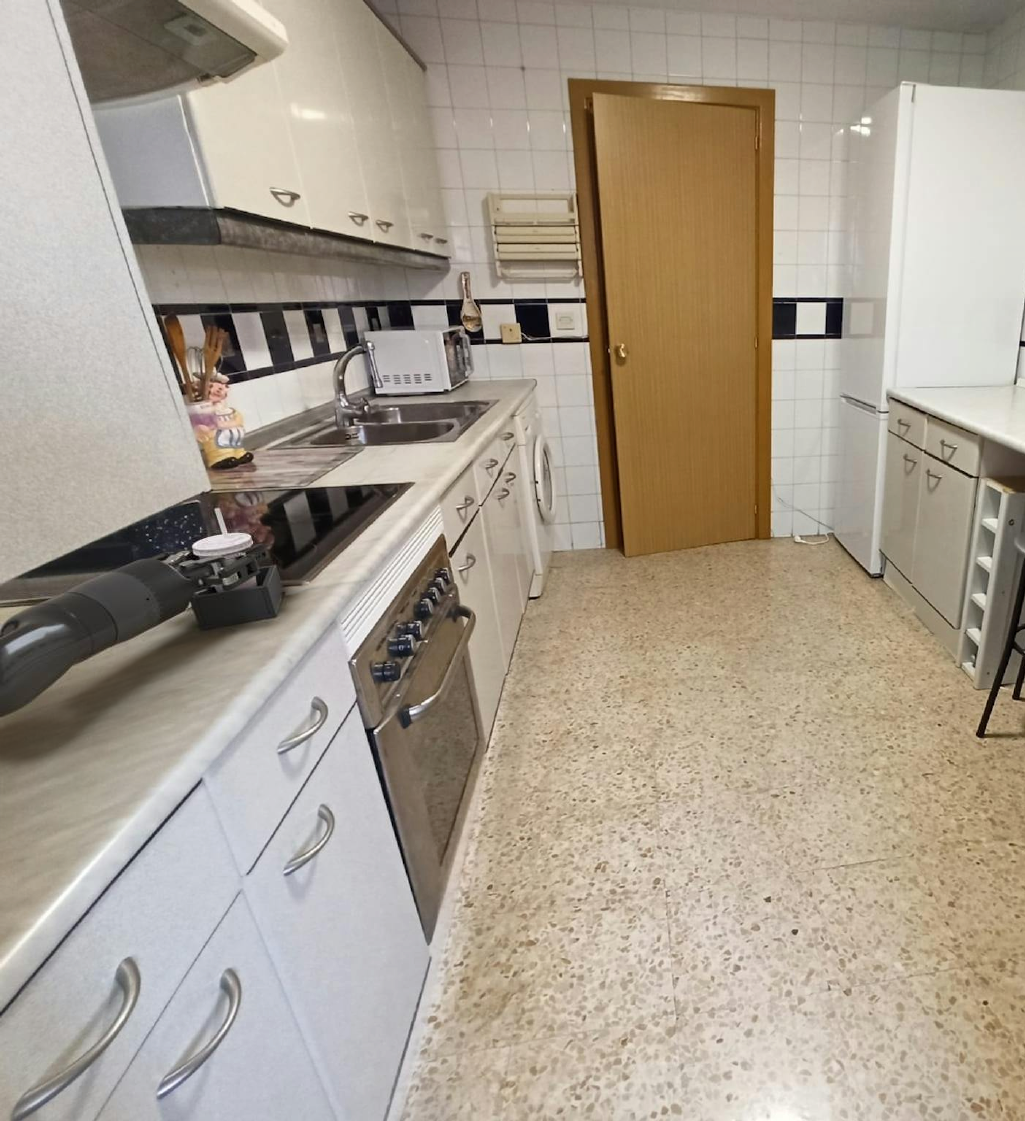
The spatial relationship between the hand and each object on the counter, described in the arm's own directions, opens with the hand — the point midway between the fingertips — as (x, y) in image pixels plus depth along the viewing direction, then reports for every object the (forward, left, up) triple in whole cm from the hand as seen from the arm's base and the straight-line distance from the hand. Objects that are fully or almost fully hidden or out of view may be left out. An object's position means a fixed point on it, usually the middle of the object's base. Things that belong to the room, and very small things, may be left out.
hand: (240, 549), depth 89 cm
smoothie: (-1, -2, -8) cm, 8 cm away
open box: (-1, -2, -8) cm, 9 cm away
